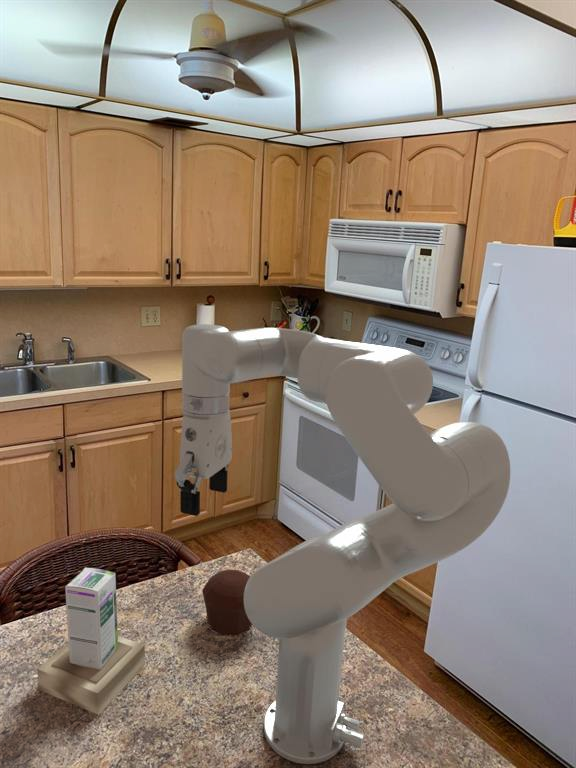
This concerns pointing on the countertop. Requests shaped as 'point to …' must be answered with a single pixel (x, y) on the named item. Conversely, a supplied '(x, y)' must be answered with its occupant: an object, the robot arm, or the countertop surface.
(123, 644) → the base block
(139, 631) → the countertop surface
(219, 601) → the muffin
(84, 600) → the syrup box
